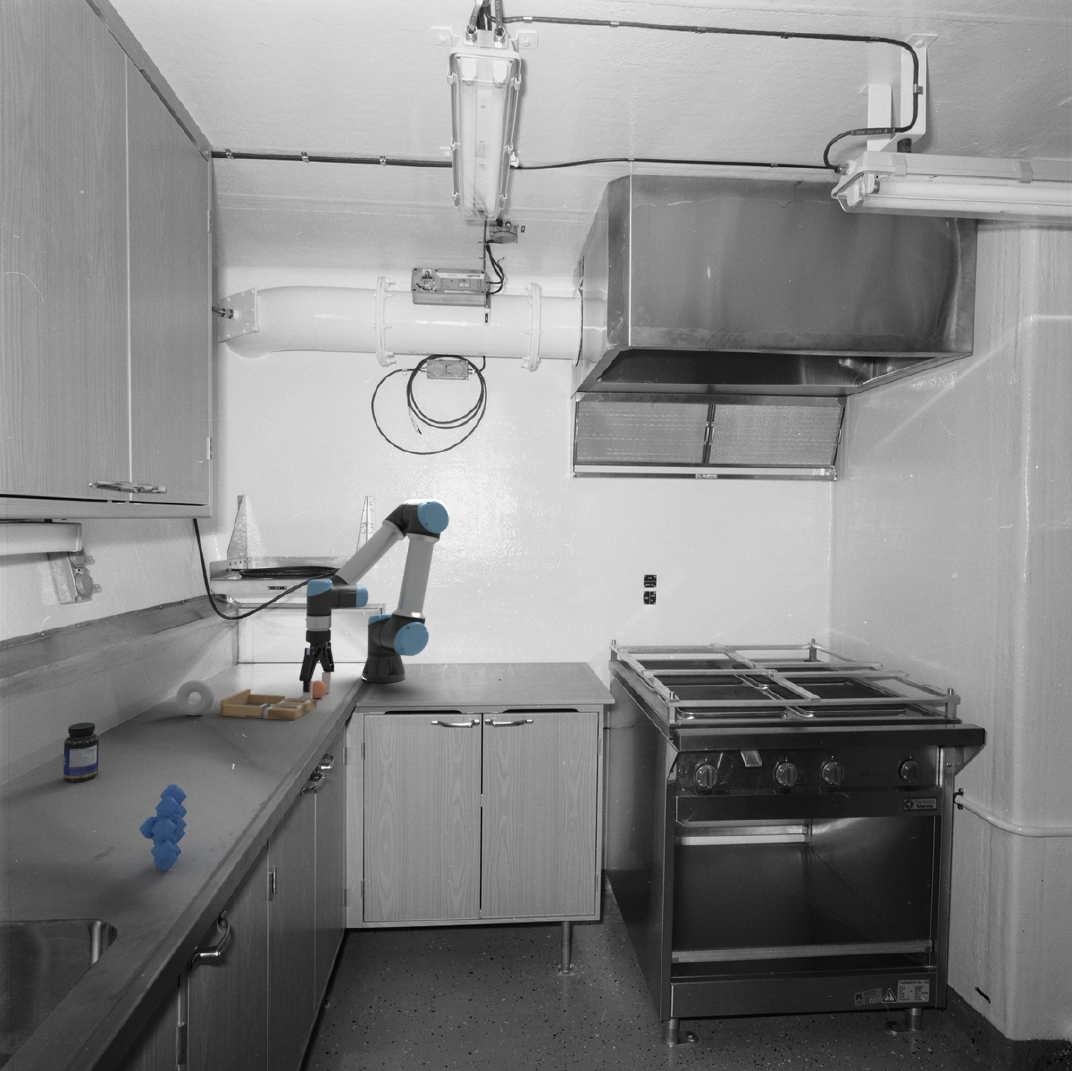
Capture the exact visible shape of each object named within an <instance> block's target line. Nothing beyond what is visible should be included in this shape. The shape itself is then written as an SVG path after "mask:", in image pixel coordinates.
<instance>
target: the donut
mask: <svg viewBox="0 0 1072 1071" xmlns="http://www.w3.org/2000/svg"><path fill="white" fill-rule="evenodd" d="M192 693H198V694H199V695H200V700H199V701H198V702H192V700H190V696H191V695H192ZM214 699H215V693H214V689H213V687H212V686H211V685H210V684H209V683H208V682H206V681H204V680H201V679H193V680H188V681H186V682H184V683H183V684H182V685H181V686H180V687H179V689H178V690H177V692H176V696H175V702H176V705H177V707H178V709H179V710H180V711H181V712H182V713H184V714H185V715H188V716H200V715H202V714H205V713H207V711H209V710H210V709H211V707H212V705H213V704H214V701H215V700H214Z"/></svg>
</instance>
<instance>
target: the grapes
mask: <svg viewBox="0 0 1072 1071" xmlns="http://www.w3.org/2000/svg"><path fill="white" fill-rule="evenodd" d="M160 798H161V800H160V801H159V803H157V805H156V806H155V810H156V812H155V814H156V815H155V816H149V817H147V819H146V820H145V821H144V822H143V823H142V824H141V825H140V827H139V831H140V833H141V834H142V836H143V837H144V838H145V839H147V840H148V839H149V840H152V841H153V842H152V844H153V845H154V846H153V847H152V849H151V850H150V852H151V854H152V856H153V857H154V859H153V862H154V864H155V866H156V868H157V869H158V870H159V871H161V872H163V871H164V872H167V871H168V870H169V869H170V868H172V866H173V865H174V864H175V863H176V862H177V860H178V857H179V856H180V854H181V853H182V850H181V848H180V847H179V845H178V844H179V842H180V841H181V840H182V838H183V837H184V836H185V834H186V832H185V830H184V829H185V828H186V826H187V822H186V821H185V820H184V817H185V816H186V815H187V813H188V811H187V809H186V808H185V806H184V804H182V803H183V802H184V801H185V799H186V798H187V794H185V792H184V790H183V789H182V788H181V787H179V786H178V785H177V784H174V783H171V784H170V785H168V786H167V787H165V789H164V790H163V791H162V793H161V794H160Z"/></svg>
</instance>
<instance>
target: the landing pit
mask: <svg viewBox="0 0 1072 1071" xmlns="http://www.w3.org/2000/svg"><path fill="white" fill-rule="evenodd" d="M251 691H252V690H251V688H247V689H244V690H242V691H239V692H237V693H234V694H232V695H229V696H227V697H225V698H222V699H220V701H219V706H220V711H219V716H220V717H235V718H251V719H253V718H254V719H265V718H264V709H266V708H269V707H270V704H277V703H279V702H281V701H282V699H286V695H279V694H278V695H276V694H274V695H273V694H262V693H261V694H258V693H252V692H251Z"/></svg>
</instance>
